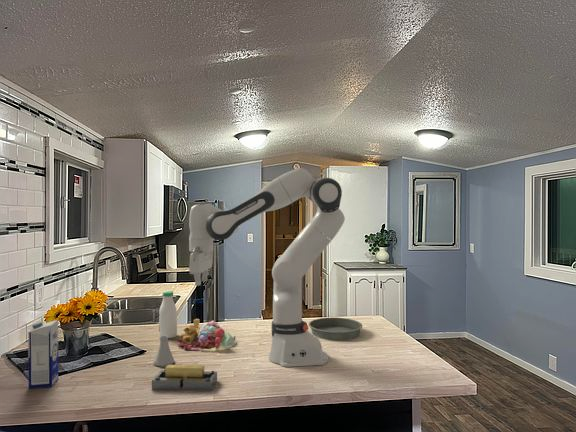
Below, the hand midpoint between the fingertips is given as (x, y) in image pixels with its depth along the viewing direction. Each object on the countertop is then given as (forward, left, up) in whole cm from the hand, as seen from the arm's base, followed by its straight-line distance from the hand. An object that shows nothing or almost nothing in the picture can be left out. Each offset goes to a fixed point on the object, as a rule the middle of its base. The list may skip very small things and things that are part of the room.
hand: (201, 283), depth 162 cm
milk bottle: (+23, -30, -29) cm, 48 cm away
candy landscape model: (+3, -22, -30) cm, 37 cm away
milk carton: (+46, +24, -29) cm, 60 cm away
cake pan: (-52, -39, -30) cm, 71 cm away
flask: (+13, +4, -29) cm, 32 cm away
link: (+4, +23, -29) cm, 37 cm away
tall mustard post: (0, +23, -28) cm, 36 cm away
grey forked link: (-6, +23, -29) cm, 37 cm away
